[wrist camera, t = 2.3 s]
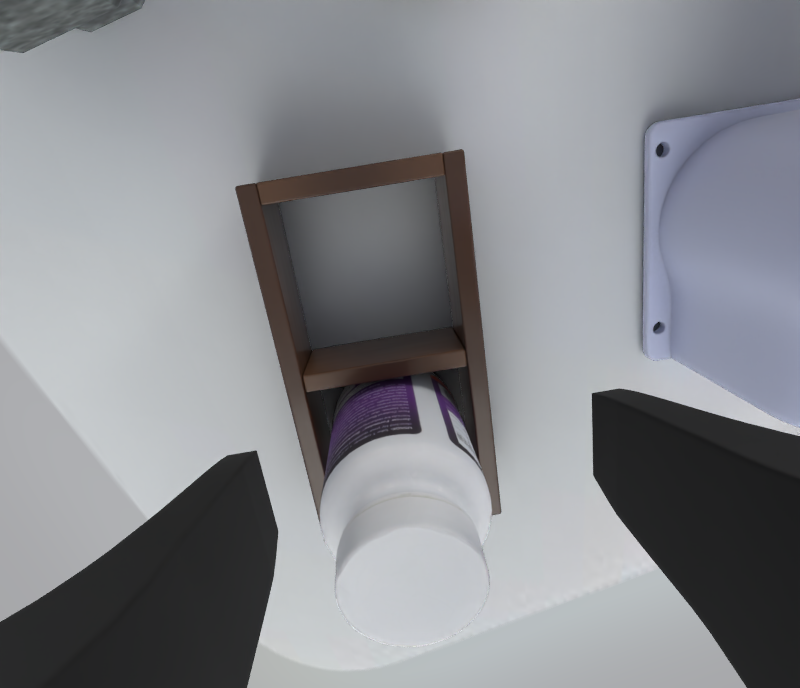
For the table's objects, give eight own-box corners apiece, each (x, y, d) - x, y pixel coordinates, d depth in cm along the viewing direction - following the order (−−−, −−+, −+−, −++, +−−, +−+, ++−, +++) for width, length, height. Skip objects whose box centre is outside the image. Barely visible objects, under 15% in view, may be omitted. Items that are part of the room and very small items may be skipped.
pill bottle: (320, 451, 22) (281, 647, 12) (354, 343, 20) (339, 476, 11) (432, 480, 22) (474, 684, 13) (473, 378, 21) (552, 530, 12)
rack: (449, 154, 18) (464, 148, 15) (485, 472, 23) (501, 514, 20) (255, 186, 18) (234, 186, 15) (330, 498, 22) (324, 543, 20)
